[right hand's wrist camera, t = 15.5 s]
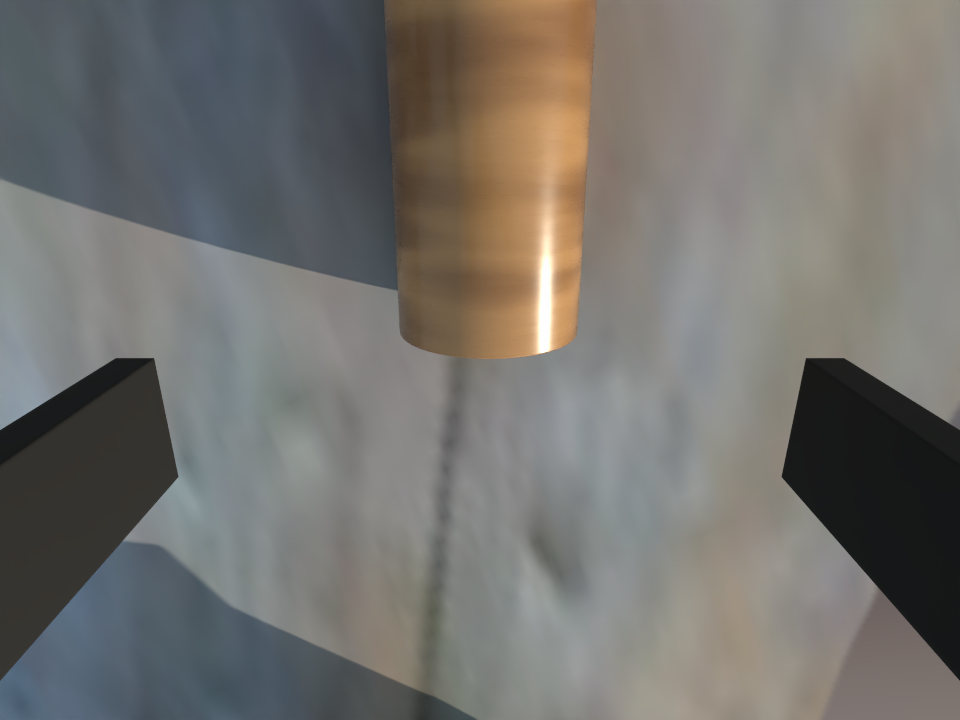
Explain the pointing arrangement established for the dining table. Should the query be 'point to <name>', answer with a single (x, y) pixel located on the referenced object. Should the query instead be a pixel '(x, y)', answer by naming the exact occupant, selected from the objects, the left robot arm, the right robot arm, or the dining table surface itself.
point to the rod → (489, 170)
